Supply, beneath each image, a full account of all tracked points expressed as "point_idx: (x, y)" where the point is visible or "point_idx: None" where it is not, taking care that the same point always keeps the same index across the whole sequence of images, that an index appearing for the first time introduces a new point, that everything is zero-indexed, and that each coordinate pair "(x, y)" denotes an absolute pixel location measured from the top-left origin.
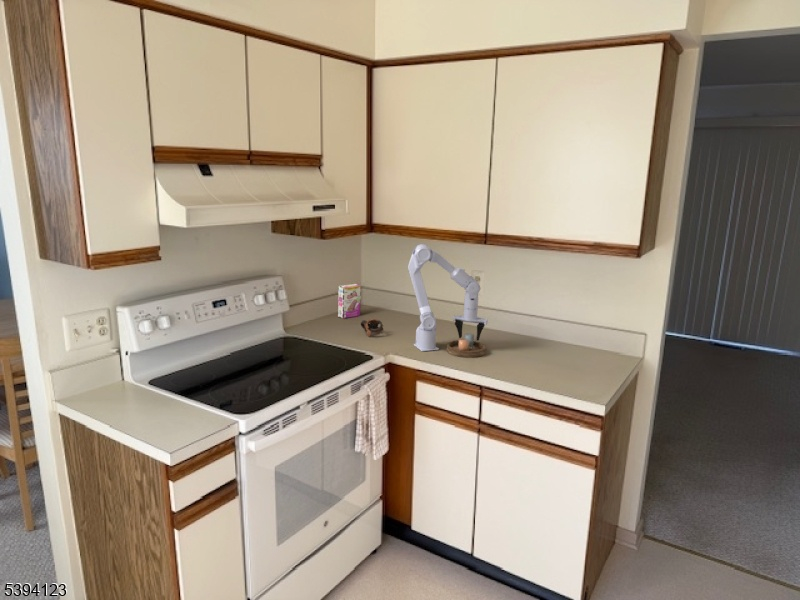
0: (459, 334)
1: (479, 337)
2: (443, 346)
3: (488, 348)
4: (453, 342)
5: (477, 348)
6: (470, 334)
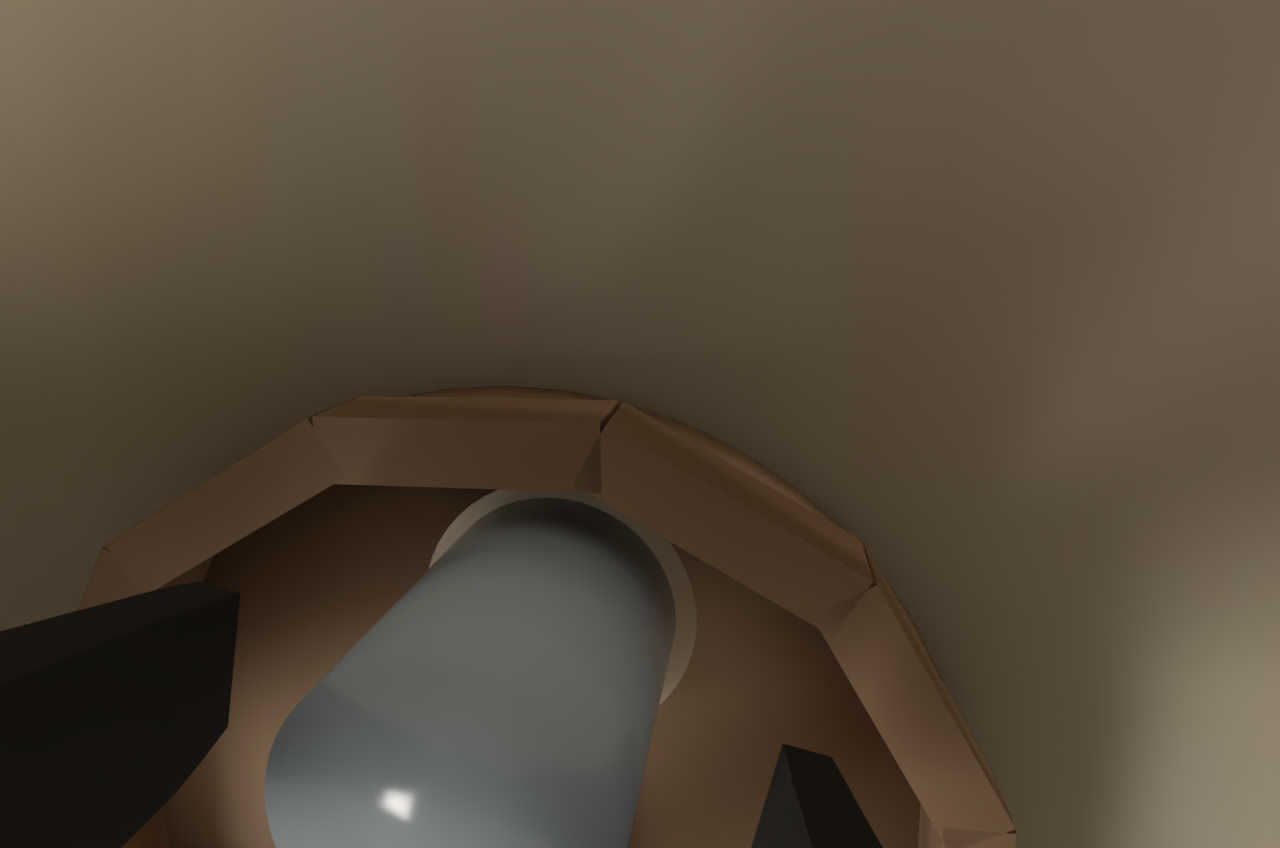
0: (97, 833)
1: (850, 813)
2: (32, 536)
3: (1089, 493)
4: None
5: None
6: (479, 773)
